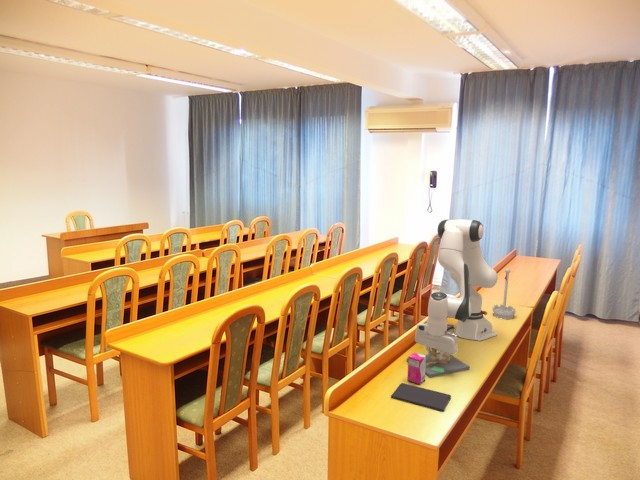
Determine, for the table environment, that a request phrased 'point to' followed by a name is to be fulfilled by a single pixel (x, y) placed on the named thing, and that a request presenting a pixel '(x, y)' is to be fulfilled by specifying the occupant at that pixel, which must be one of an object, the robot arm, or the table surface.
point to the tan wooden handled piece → (444, 359)
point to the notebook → (421, 397)
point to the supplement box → (416, 368)
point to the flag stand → (504, 303)
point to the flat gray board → (444, 367)
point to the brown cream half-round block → (450, 328)
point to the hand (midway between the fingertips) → (434, 357)
